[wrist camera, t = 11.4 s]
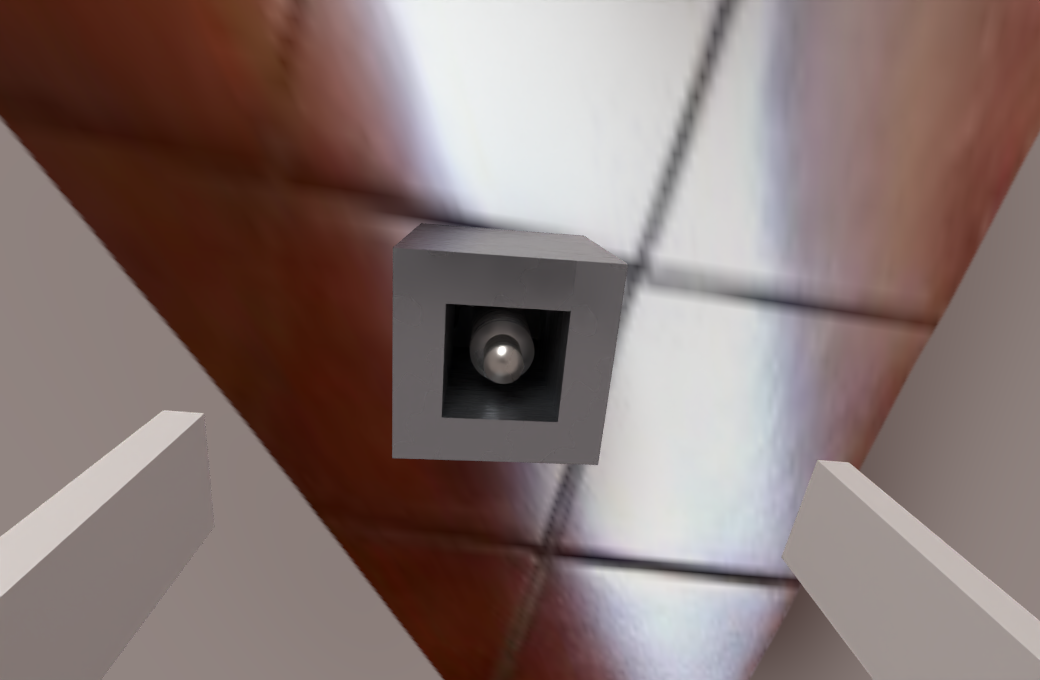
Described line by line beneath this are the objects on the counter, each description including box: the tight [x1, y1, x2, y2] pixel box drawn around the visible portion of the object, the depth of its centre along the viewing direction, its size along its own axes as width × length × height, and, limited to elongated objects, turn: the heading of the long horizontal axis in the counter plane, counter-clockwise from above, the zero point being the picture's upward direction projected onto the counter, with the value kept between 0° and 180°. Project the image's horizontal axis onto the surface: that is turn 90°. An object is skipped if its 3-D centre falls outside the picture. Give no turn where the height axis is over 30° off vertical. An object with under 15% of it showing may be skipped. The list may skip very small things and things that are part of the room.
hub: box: [453, 304, 541, 384], centre depth 23 cm, size 7×7×8 cm
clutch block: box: [392, 223, 628, 465], centre depth 22 cm, size 8×8×8 cm
